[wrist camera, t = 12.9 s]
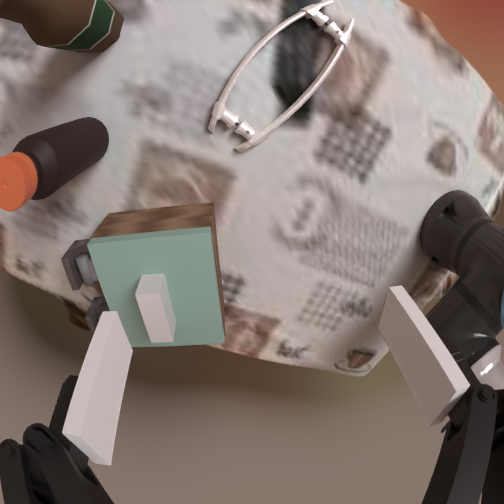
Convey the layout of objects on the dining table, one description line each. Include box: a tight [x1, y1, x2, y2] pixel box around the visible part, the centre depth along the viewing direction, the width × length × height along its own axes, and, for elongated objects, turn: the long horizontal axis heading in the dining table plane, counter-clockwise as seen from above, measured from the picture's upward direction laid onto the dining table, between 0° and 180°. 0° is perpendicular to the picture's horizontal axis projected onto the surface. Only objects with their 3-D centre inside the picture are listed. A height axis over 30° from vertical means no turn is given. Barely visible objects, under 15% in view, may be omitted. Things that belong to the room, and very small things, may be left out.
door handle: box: [208, 0, 355, 152], centre depth 34 cm, size 3×10×25 cm
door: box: [75, 227, 225, 347], centre depth 38 cm, size 18×18×6 cm
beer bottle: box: [0, 0, 124, 52], centre depth 18 cm, size 8×8×24 cm
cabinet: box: [61, 203, 225, 336], centre depth 43 cm, size 20×18×10 cm
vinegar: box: [0, 117, 109, 211], centre depth 28 cm, size 7×7×20 cm
